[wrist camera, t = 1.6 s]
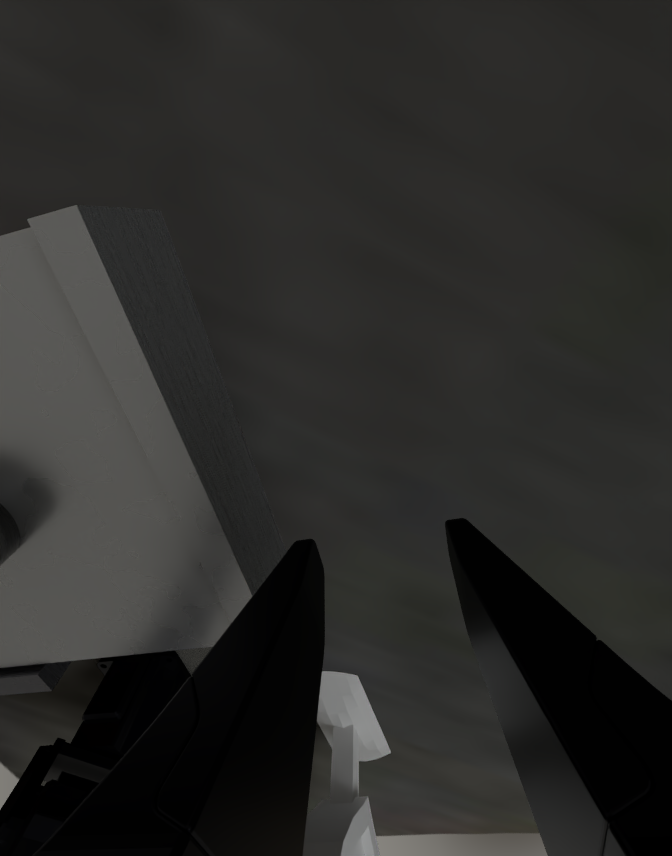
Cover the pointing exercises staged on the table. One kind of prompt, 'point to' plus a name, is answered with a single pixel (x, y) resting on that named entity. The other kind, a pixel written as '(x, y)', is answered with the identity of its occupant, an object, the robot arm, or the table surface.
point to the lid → (117, 450)
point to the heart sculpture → (345, 770)
